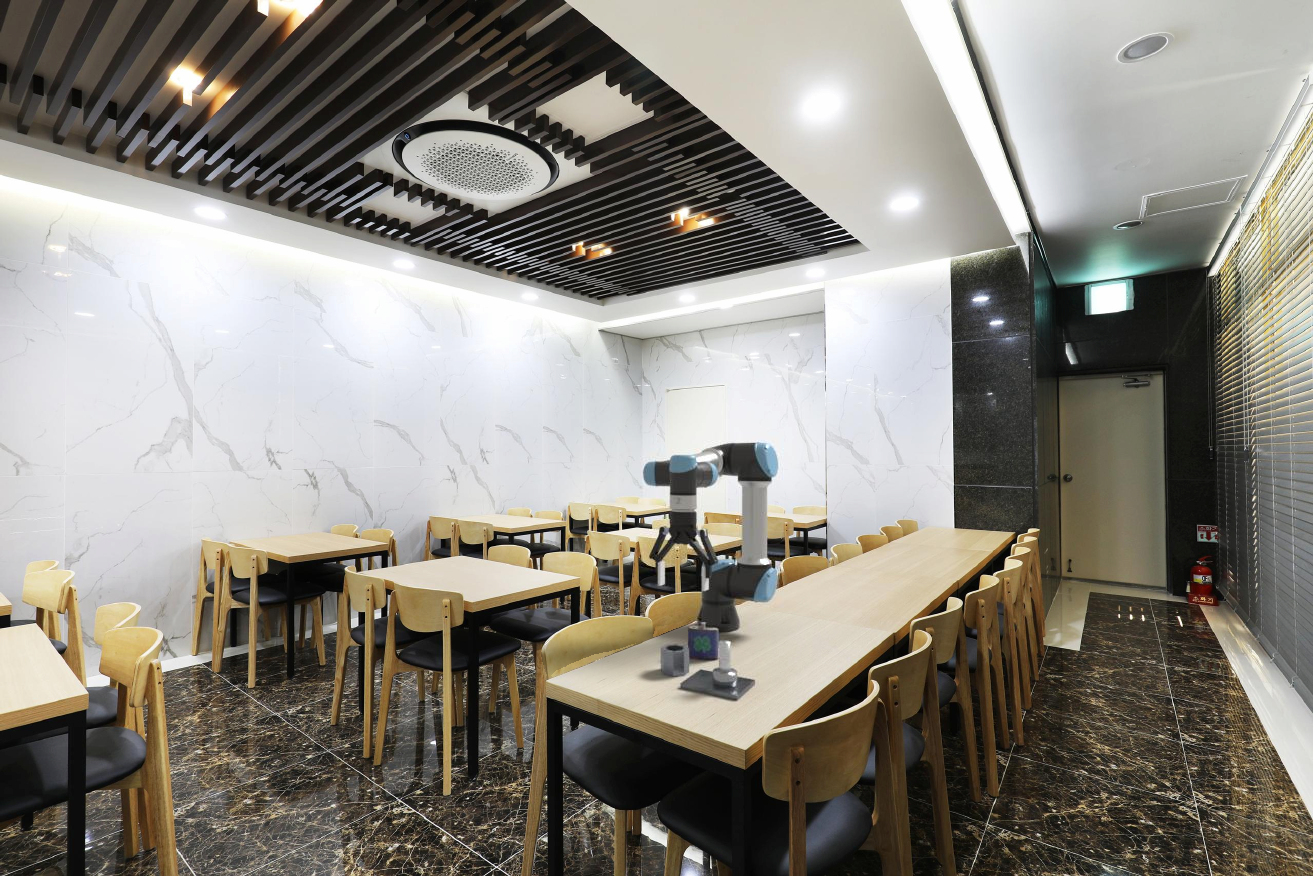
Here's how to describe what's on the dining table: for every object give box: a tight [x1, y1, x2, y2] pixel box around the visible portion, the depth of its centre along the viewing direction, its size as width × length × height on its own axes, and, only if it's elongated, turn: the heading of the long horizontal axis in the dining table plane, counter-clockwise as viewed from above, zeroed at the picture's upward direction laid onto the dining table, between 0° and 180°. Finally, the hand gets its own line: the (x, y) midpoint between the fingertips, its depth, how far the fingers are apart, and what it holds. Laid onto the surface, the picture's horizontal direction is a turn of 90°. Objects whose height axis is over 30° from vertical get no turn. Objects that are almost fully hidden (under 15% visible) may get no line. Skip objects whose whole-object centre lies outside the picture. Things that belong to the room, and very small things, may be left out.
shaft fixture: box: [679, 639, 756, 701], centre depth 162 cm, size 12×16×12 cm
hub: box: [660, 643, 690, 678], centre depth 173 cm, size 7×7×6 cm
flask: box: [687, 622, 720, 661], centre depth 184 cm, size 9×3×11 cm, turn 78°
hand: (682, 587), depth 170 cm, fingers open, 13 cm apart
